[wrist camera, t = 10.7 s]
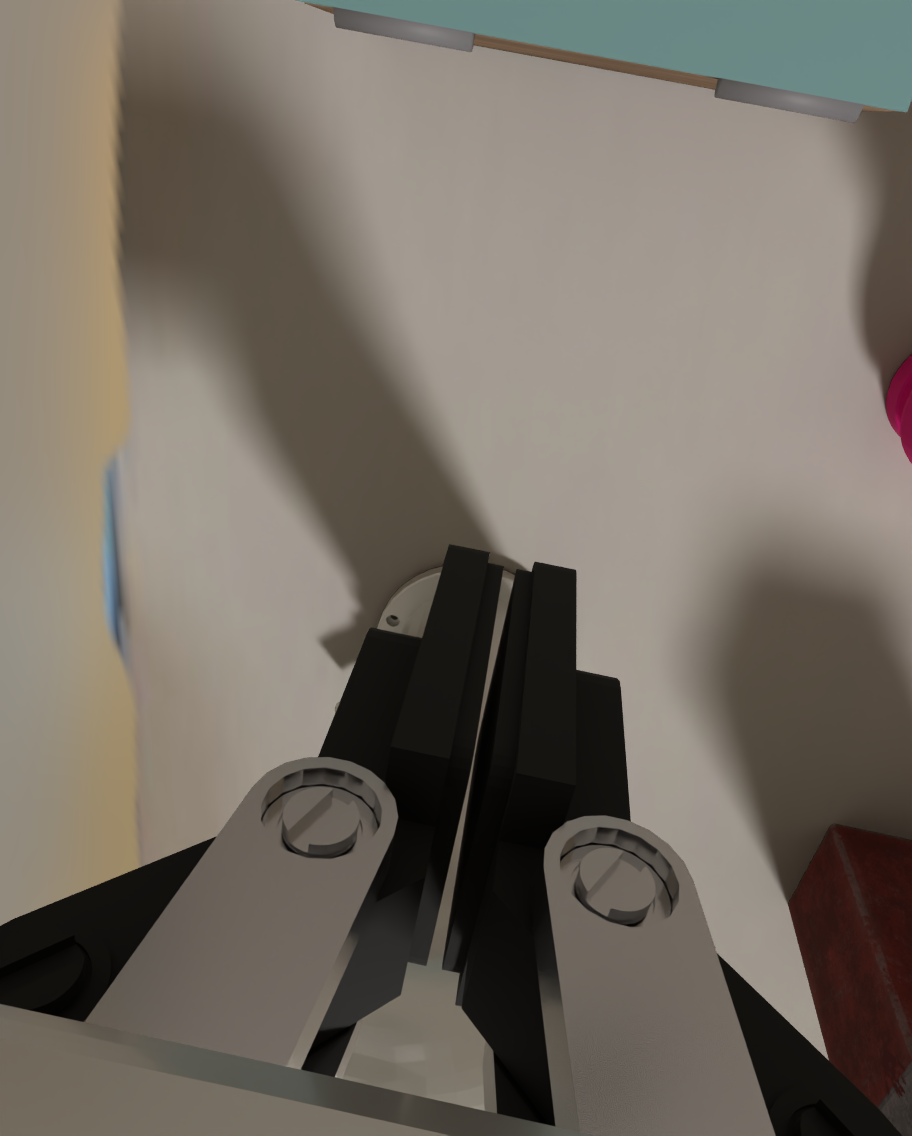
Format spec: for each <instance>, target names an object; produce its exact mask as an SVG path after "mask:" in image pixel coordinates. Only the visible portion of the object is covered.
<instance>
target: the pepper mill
mask: <svg viewBox="0 0 912 1136" xmlns="http://www.w3.org/2000/svg"><path fill="white" fill-rule="evenodd" d="M886 408H887V415H888V419H889V421H890V424H891V426H892V427H893V429H894V430H895V432H896V433H897V434H898V435H899V436H900V437H901V442H902V446H903V448H904V451H905V453H906V455H907V457H908V459H909V461H910V462H911V463H912V355H911V356H910V357H909V358H908V359H907V360H906V361H905V362H904V363H903V364H902V365H901V367H900V368H899V369H898V371H897V372H896V374H895V375H894V377H893V379H892V381H891V384H890V387H889V390H888V394H887V401H886Z"/></svg>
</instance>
